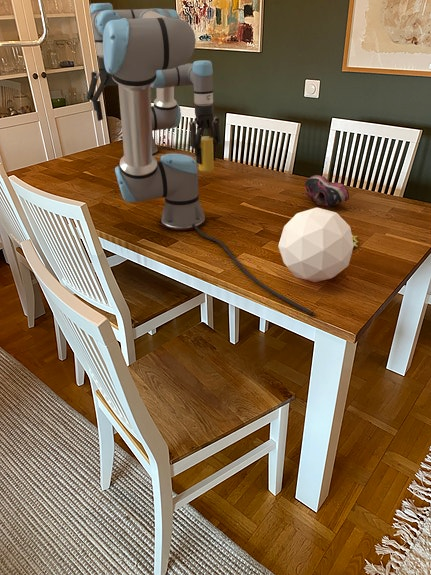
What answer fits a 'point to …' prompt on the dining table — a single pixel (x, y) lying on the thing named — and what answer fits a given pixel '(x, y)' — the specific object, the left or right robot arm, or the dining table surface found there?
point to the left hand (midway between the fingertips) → (205, 161)
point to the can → (206, 154)
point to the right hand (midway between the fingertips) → (117, 120)
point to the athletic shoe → (326, 191)
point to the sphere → (316, 244)
